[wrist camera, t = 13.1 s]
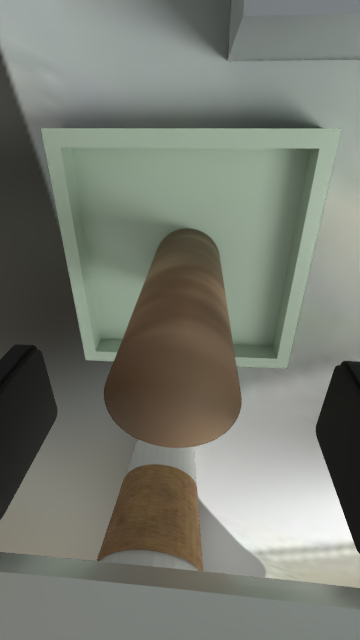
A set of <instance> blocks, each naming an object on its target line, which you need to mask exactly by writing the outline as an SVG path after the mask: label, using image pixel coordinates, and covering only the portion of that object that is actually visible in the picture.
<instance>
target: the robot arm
mask: <svg viewBox="0 0 360 640" xmlns="http://www.w3.org/2000/svg"><path fill="white" fill-rule="evenodd" d="M56 417H57V406H56V403H55V399H54V395H53V392H52V388H51V385H50V381H49V377H48V373H47V370H46V366H45V362H44V359H43V355H42V352H41V351H40V350H37V348H36V347H35V346H34V345H18V344H17V345H14V346H13V347H12V348H11V349H10V350H9V351H8V352H7V353H6V354H5V355H4V357H2V359H1V360H0V519H1V518H2V517H3V515H4V513H5V512H6V510H7V508H8V506H9V504H10V502H11V501H12V499H13V497H14V495H15V493H16V491H17V490H18V488H19V486H20V484H21V482H22V480H23V478H24V477H25V475H26V473H27V471H28V469H29V468H30V466H31V464H32V462H33V460H34V458H35V456H36V455H37V453H38V451H39V449H40V447H41V445H42V444H43V442H44V440H45V438H46V436H47V434H48V432H49V431H50V429H51V427H52V425H53V423H54V421H55V419H56ZM316 436H317V439H318V442H319V445H320V447H321V450H322V453H323V456H324V459H325V462H326V464H327V467H328V470H329V473H330V476H331V479H332V481H333V484H334V487H335V490H336V493H337V495H338V498H339V501H340V504H341V507H342V510H343V512H344V515H345V518H346V521H347V524H348V527H349V529H350V532H351V535H352V538H353V541H354V544H355V546H356V549H357V551H358V552H359V553H360V362H356V361H343V362H342V363H341V365H337V366H336V367H335V369H334V372H333V375H332V378H331V381H330V384H329V387H328V391H327V394H326V397H325V400H324V403H323V406H322V409H321V412H320V415H319V419H318V422H317V425H316ZM0 640H360V588H353V587H344V586H336V585H328V584H319V583H310V582H300V581H290V580H281V579H271V578H262V577H261V578H260V577H252V576H242V575H233V574H223V573H213V572H203V571H193V570H183V569H173V568H163V567H153V566H142V565H132V564H122V563H112V562H101V561H91V560H80V559H70V558H59V557H48V556H37V555H26V554H15V553H5V552H0Z"/></svg>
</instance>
